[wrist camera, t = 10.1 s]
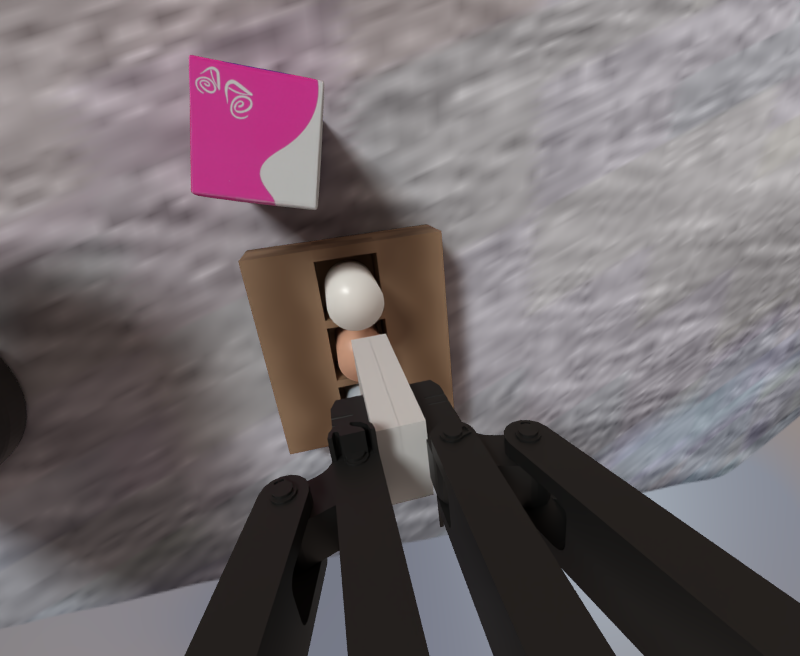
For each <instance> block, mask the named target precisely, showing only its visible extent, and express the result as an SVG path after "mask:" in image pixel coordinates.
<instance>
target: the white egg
mask: <svg viewBox="0 0 800 656" xmlns="http://www.w3.org/2000/svg"><path fill="white" fill-rule="evenodd" d="M324 286H325V295H326V304H327V310H328V314H329V316H330V318H331V319H332V320H333V322H334V323H335V324H336V325H338V326H339V327H341V328H343V329H346V330H350V331H359V330H364V329H366V328H369V327H370V326H372V325H373V324H375V323H376V322H377V320H378V319H379V318H380V316H381V314H382V312H383V309H384V297H383V293H382V291H381V289H380V288H379V286H378V284H377V282H376V281H375V279H374V277H373V275H372V274H371V272H370V271H369V269H368V268H367V267H366V266H365V265H364V264H362V263H360V262H358V261H354V260H344V261H341V262H338V263H336V264H335V265H333V266H332V267H331V268H330V270H329V271H328V272H327V275H326V277H325V282H324Z"/></svg>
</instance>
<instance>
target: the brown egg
mask: <svg viewBox="0 0 800 656" xmlns="http://www.w3.org/2000/svg"><path fill="white" fill-rule="evenodd" d="M375 335H380V334H379V331H378V329H377V327H376V325H375V324H373V325H372V326H370V327H369V328H366V329H364V330H359V331H350V330H346V329H343V328H341V327H337V328H336V330H335V342H336V350H337V357H338V364H339V368H340V370H341V372H342V373H343V374H344V375H345V376H346V377H347V378H349V379H351V380H353V381H357V382H358V377H357V371H356V366H355V360H354V354H353V349H352V343H351V340H354V339H359V338H365V337H370V336H375Z"/></svg>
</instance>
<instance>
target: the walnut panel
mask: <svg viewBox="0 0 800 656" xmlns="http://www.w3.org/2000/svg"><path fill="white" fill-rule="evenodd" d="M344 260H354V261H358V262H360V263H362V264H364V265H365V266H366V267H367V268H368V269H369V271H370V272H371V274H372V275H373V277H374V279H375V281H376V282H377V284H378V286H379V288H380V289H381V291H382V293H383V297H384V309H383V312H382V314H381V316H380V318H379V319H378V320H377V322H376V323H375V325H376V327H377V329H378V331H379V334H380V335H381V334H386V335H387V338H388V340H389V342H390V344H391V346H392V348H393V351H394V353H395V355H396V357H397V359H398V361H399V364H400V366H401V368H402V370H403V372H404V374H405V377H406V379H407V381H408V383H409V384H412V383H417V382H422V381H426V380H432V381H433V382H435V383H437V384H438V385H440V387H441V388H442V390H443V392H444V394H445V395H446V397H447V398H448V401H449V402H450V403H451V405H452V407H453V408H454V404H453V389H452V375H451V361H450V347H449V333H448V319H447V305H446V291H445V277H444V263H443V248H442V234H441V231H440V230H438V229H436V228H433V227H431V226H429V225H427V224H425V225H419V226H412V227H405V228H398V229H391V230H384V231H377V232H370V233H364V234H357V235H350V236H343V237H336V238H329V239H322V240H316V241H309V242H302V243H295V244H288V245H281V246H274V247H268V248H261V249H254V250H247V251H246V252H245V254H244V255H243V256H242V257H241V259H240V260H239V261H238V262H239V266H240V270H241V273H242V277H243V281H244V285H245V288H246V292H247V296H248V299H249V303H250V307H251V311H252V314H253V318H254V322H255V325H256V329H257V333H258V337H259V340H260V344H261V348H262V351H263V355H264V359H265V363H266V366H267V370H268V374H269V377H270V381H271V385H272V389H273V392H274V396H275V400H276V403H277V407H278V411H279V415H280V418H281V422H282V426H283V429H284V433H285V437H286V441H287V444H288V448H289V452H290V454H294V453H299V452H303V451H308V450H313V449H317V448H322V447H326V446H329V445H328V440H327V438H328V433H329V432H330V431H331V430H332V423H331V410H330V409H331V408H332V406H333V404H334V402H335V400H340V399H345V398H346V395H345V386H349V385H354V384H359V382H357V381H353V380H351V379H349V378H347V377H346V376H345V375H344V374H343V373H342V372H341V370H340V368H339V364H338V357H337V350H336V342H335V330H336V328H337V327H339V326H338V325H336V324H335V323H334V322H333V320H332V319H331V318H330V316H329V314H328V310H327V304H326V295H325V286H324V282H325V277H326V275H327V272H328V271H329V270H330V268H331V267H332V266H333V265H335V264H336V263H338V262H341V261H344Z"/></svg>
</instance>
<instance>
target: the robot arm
mask: <svg viewBox="0 0 800 656" xmlns="http://www.w3.org/2000/svg"><path fill="white" fill-rule="evenodd" d="M351 343H352V349H353V354H354V360H355V366H356V371H357V377H358V382H359V388H360V394H361V395H359V396H354V397H349V398H345V399H340V400H335V402H334V404H333V406H332V408H331V409H330V410H331V423H332V430H331V431H330V432H329V433H328V438H327V440H328V445H329V449H330V454H331V458H332V464H331V465H330V466H329V468H328V469H327V470H326V471H324V472H323V473H322V474H320V475H319V476H317V477H315V478H313V479H311V480H309V481H306V479H305V478H303V477H301V476H298V475H288V476H283V477H280V478H278V479H275V480H273V481H271V482H270V483H269V484H268V485H266V486H265V487H264V488H263V489H262V491H261V492H260V494H259V495H258V497H257V500H256V502H255V504H254V506H253V508H252V511H251V513H250V515H249V517H248V519H247V521H246V524H245V526H244V528H243V530H242V532H241V534H240V537H239V539H238V541H237V543H236V545H235V547H234V550H233V552H232V554H231V556H230V558H229V560H228V563H227V565H226V567H225V569H224V571H223V573H222V576H221V578H220V580H219V582H218V584H217V587H216V589H215V591H214V593H213V595H212V597H211V600H210V602H209V604H208V606H207V608H206V611H205V613H204V615H203V617H202V619H201V621H200V624H199V626H198V628H197V630H196V632H195V634H194V637H193V639H192V641H191V643H190V645H189V647H188V649H187V652H186V654H185V656H307V655H308V651H309V646H310V641H311V636H312V632H313V627H314V623H315V618H316V613H317V608H318V604H319V599H320V595H321V590H322V585H323V581H324V576H325V571H326V567H327V557H329V556H331V555H332V554H334V553H336V552H337V551H339V550H340V562H341V575H342V587H343V600H344V612H345V624H346V638H347V651H348V656H429V652H428V648H427V644H426V640H425V636H424V632H423V628H422V624H421V619H420V615H419V611H418V607H417V604H416V600H415V595H414V591H413V587H412V583H411V579H410V575H409V571H408V568H407V563H406V559H405V555H404V551H403V547H402V543H401V539H400V535H399V531H398V527H397V523H396V518H395V514H394V510H393V506H392V505H394V504H398V503H402V502H406V501H410V500H414V499H418V498H422V497H426V496H430V495H434V494H433V486H434V488H435V491H436V493H437V502H438V511H439V521H440V527H443V526H444V525H445V527H446V530H447V533H448V535H449V538H450V541H451V543H452V546H453V549H454V551H455V554H456V557H457V559H458V562H459V565H460V567H461V570H462V573H463V575H464V578H465V581H466V584H467V586H468V589H469V591H470V594H471V597H472V600H473V602H474V605H475V607H476V610H477V613H478V616H479V618H480V621H481V624H482V626H483V629H484V631H485V634H486V637H487V640H488V642H489V645H490V648H491V650H492V653H493V656H616V655H615V653H614V652H613V650H612V649H611V647H610V645H609V644H608V642H607V641H606V639H605V638H604V636H603V634H602V633H601V631H600V629H599V628H598V626H597V625H596V623H595V622H594V620H593V618H592V617H591V615H590V613H589V612H588V610H587V609H586V607H585V606H584V604H583V602H582V601H581V599H580V598H579V596H578V594H577V593H576V591H575V590H574V588H573V586H572V585H571V583H570V582H569V580H568V579H567V577H566V575H565V574H564V572H563V570H564V571H565V572H566V573H567V575H568V576H569V577H570V578H571V579H572V580H573V581H574V582H575V583H576V584H577V585H578V586H579V587H580V588H581V589H582V590H583V591H584V593H585V594H586V595H587V596H588V597H589V598H590V599H591V600H592V601H593V602H594V603H595V604H596V605H597V606H598V607H599V608H600V609H601V611H602V612H603V613H604V614H605V615H606V616H607V617H608V618H609V619H610V620H611V621H612V622H613V623H614V624H615V625H616V626H617V627H618V628H619V630H621V632H622V633H623V634H624V635H625V636H626V637H627V638H628V639H629V640H630V641H631V642H632V643H633V644H634V645H635V647H637V649H638V650H639V651H640V652H641V653H642V654H643V655H644V656H800V603H799V602H797V601H796V600H794V599H793V598H792V597H790V596H789V595H787V594H786V593H785V592H783V591H782V590H780V589H779V588H777V587H776V586H774V585H773V584H772V583H770V582H769V581H767V580H766V579H764V578H763V577H762V576H760V575H759V574H757V573H756V572H754V571H753V570H752V569H750V568H748V567H747V566H745V565H744V564H743V563H741V562H740V561H739V560H737V559H736V558H734V557H733V556H731V555H730V554H729V553H727V552H726V551H724V550H723V549H721V548H720V547H719V546H717V545H716V544H714V543H713V542H711V541H710V540H709V539H707V538H706V537H704V536H703V535H701V534H700V533H698V532H697V531H695V530H694V529H693V528H691V527H690V526H688V525H687V524H686V523H684V522H682V521H681V520H680V519H678V518H677V517H675V516H674V515H673V514H671V513H670V512H668V511H667V510H665V509H664V508H663V507H661V506H660V505H658V504H657V503H655V502H654V501H652V500H651V499H650V498H648V497H647V496H645V495H644V494H643V493H641V492H640V491H638V490H637V489H635V488H634V487H632V486H631V485H630V484H628V483H627V482H625V481H624V480H622V479H621V478H620V477H618V476H617V475H615V474H614V473H612V472H611V471H610V470H608V469H607V468H605V467H604V466H602V465H601V464H600V463H598V462H597V461H595V460H594V459H592V458H591V457H589V456H588V455H587V454H585V453H584V452H582V451H581V450H579V449H578V448H577V447H575V446H574V445H572V444H571V443H569V442H568V441H567V440H565V439H564V438H562V437H561V436H559V435H558V434H556V433H555V432H554V431H552V430H551V429H549V428H548V427H546V426H545V425H543V424H541V423H539V422H535V421H530V420H520V421H516V422H512V423H511V424H509V425H508V426H506V428H505V430H504V435H482V434H478V433H476V432H475V430H474V429H473V428H472V427H471V426H470V425H468V424H466V423H463V422H461V420H460V418H459V417H458V415H457V413H456V412H455V410H454V408H453V407H452V405H451V403H450V402H449V401H448V398H447V397H446V395H445V394H444V392H443V390H442V388H441V387H440V385H438V384H437V383H435V382H433V381H432V380H426V381H422V382H417V383H412V384H409V383H408V381H407V379H406V377H405V374H404V372H403V370H402V368H401V366H400V364H399V361H398V359H397V357H396V355H395V353H394V351H393V348H392V346H391V344H390V342H389V340H388V338H387V335H386V334H381V335H375V336H370V337H365V338H359V339H354V340H351ZM25 425H26V405H25V400H24V397H23V393H22V391H21V388H20V386H19V384H18V382H17V380H16V378H15V377H14V375H13V373H12V372H11V371H10V369H9V368H8V367H7V365H6V364H5V363H4V362H3V361H2V360H1V358H0V464H1V463H2V462H3V461H4V460H5V459H6V458H7V457H8V456H9V455H10V454H11V453H12V452H13V451H14V450H15V448H16V447H17V445H18V444H19V442H20V440H21V438H22V435H23V433H24V429H25ZM432 483H433V484H432ZM561 568H562V569H563V570H562V569H561Z"/></svg>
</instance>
